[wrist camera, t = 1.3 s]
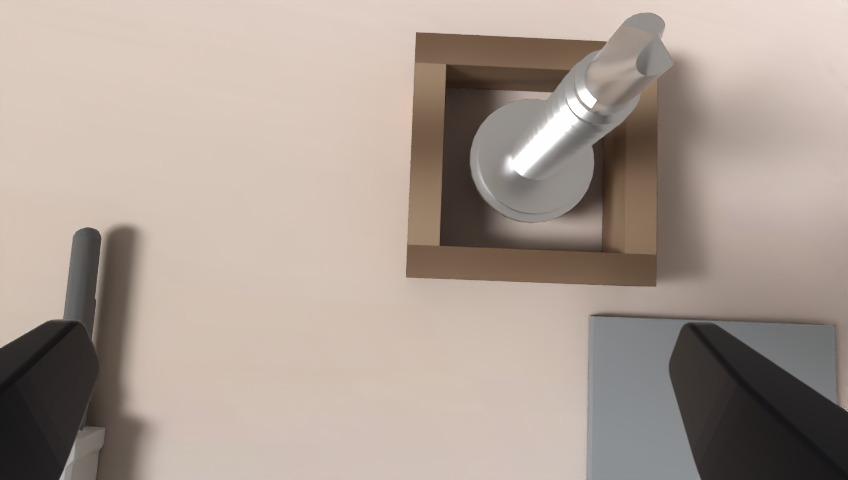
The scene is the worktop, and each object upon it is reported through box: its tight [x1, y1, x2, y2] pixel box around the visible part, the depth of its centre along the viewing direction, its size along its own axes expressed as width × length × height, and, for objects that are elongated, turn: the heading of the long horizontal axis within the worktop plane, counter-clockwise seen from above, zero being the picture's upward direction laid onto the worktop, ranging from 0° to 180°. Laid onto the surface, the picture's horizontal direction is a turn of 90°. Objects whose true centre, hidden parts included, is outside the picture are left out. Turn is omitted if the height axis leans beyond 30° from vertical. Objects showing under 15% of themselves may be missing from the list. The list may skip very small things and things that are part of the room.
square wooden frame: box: [406, 32, 657, 286], centre depth 22 cm, size 9×9×2 cm
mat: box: [587, 316, 837, 480], centre depth 23 cm, size 10×10×1 cm
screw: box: [469, 13, 674, 223], centre depth 17 cm, size 13×5×5 cm
